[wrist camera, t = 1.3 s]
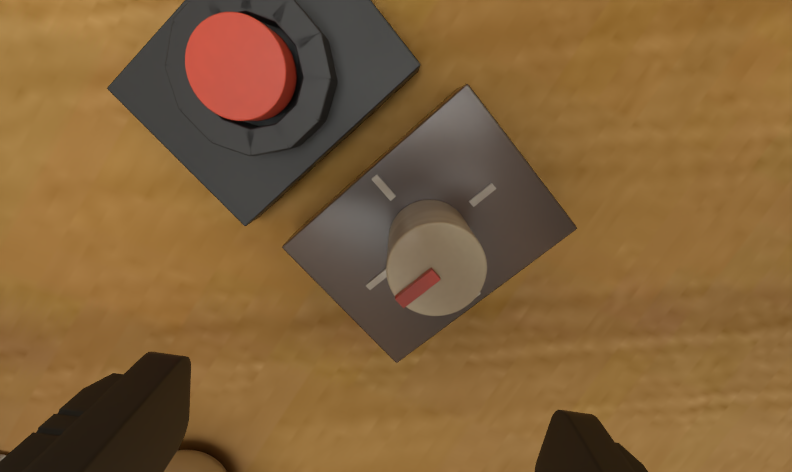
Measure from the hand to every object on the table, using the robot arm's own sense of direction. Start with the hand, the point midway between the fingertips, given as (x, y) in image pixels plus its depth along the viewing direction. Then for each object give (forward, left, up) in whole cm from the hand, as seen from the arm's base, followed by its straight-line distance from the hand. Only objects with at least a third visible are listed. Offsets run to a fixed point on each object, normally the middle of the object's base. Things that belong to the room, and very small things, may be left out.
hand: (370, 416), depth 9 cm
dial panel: (-2, +1, -15) cm, 15 cm away
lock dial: (-2, +1, -12) cm, 12 cm away
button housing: (-1, -10, -15) cm, 18 cm away
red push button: (-1, -10, -11) cm, 15 cm away
